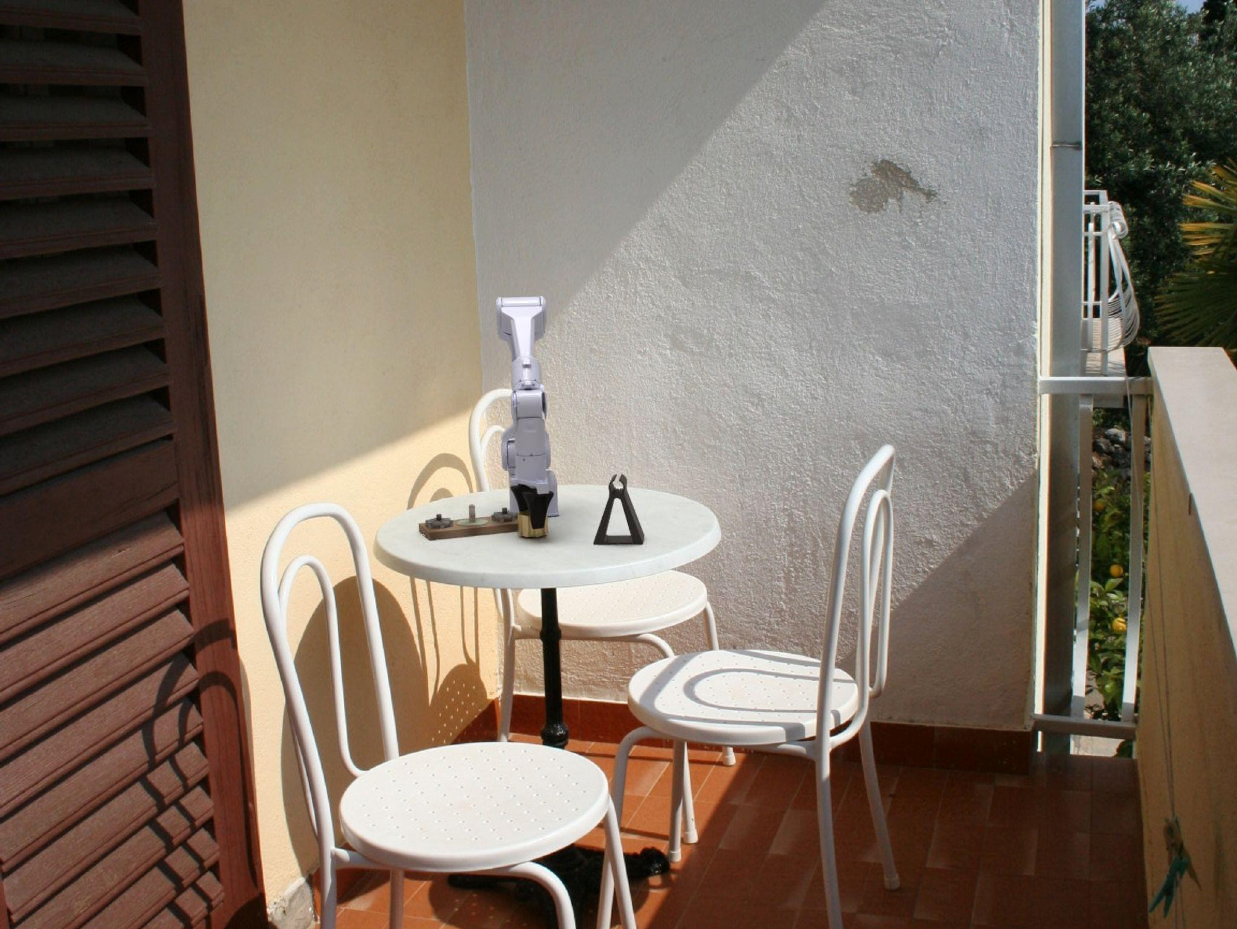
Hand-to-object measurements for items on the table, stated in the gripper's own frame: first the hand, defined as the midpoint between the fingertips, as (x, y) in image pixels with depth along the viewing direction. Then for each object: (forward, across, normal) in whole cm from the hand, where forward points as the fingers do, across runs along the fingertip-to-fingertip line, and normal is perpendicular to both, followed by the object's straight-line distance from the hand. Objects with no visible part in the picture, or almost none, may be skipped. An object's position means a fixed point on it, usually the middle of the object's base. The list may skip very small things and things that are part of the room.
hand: (532, 525), depth 231 cm
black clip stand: (+2, +11, +13) cm, 17 cm away
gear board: (+2, -10, -9) cm, 14 cm away
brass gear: (+2, 0, 0) cm, 2 cm away
